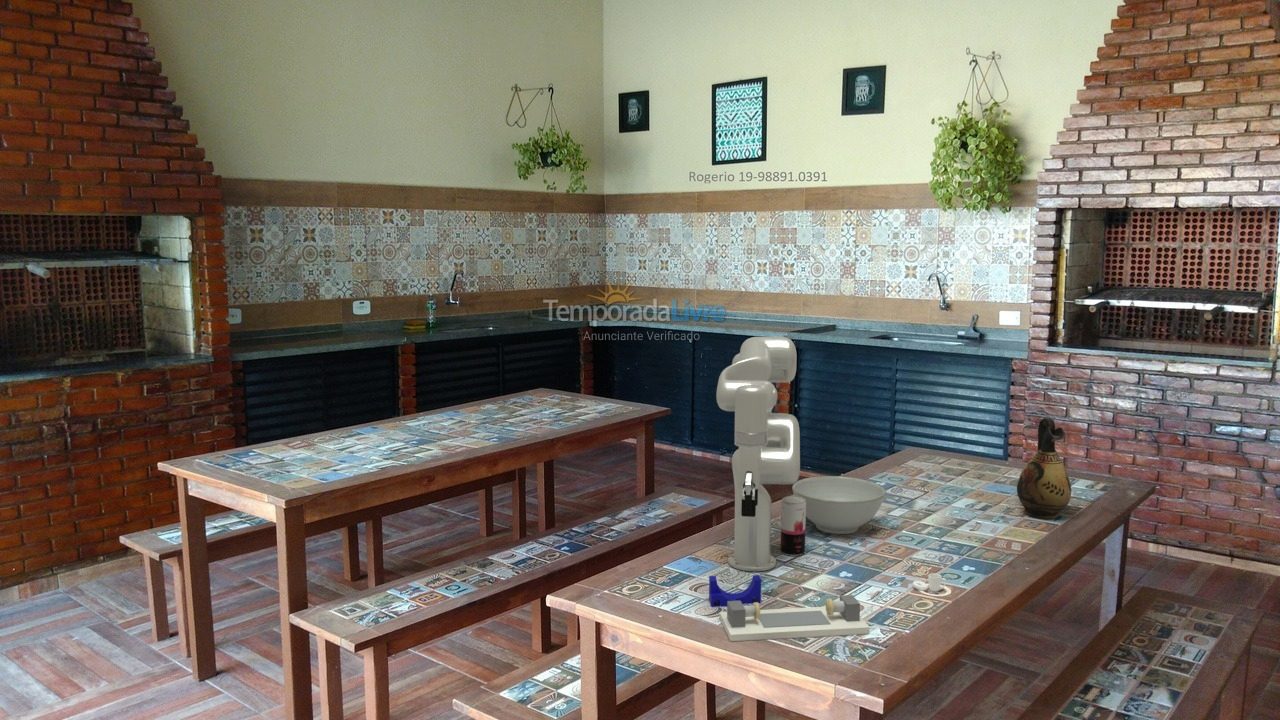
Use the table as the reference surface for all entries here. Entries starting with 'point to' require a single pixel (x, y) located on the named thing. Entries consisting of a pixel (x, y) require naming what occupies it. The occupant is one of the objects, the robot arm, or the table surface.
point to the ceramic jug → (1045, 476)
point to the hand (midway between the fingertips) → (749, 510)
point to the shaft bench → (793, 620)
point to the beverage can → (793, 525)
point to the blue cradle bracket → (746, 597)
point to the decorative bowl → (839, 502)
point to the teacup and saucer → (932, 585)
